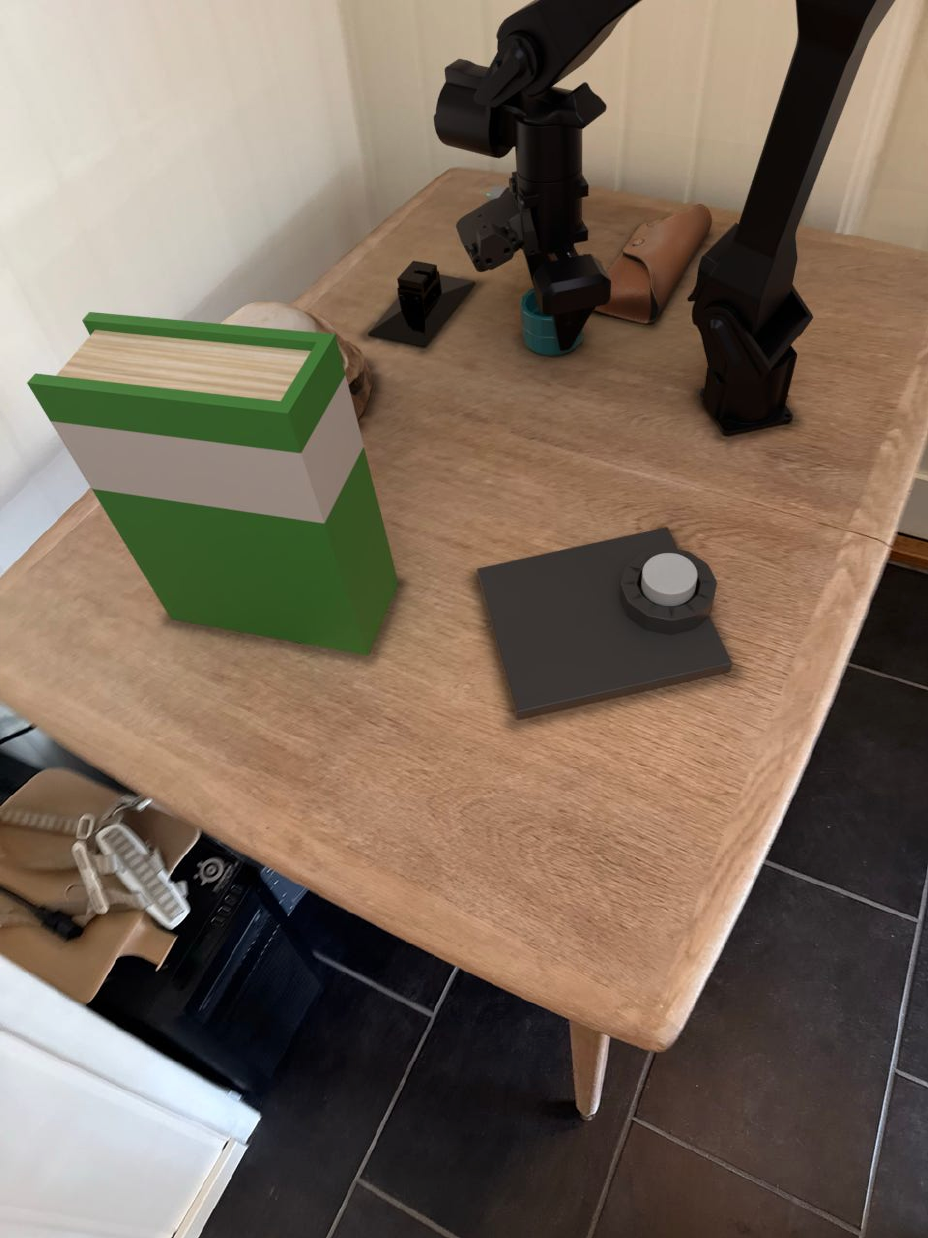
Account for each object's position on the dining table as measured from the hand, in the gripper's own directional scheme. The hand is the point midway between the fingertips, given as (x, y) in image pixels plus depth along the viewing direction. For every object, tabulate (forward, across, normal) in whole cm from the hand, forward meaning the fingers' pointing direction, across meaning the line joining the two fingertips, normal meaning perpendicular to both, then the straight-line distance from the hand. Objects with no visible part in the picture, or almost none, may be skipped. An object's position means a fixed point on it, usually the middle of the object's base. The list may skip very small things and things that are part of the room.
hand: (553, 322), depth 89 cm
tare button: (-1, +36, -1) cm, 36 cm away
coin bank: (+2, +4, -27) cm, 27 cm away
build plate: (+2, -10, -12) cm, 16 cm away
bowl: (+2, 0, 0) cm, 2 cm away
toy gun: (+2, -23, +2) cm, 23 cm away
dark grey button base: (+2, +36, -6) cm, 37 cm away
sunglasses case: (+2, -8, +13) cm, 15 cm away
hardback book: (+2, +27, -30) cm, 40 cm away
